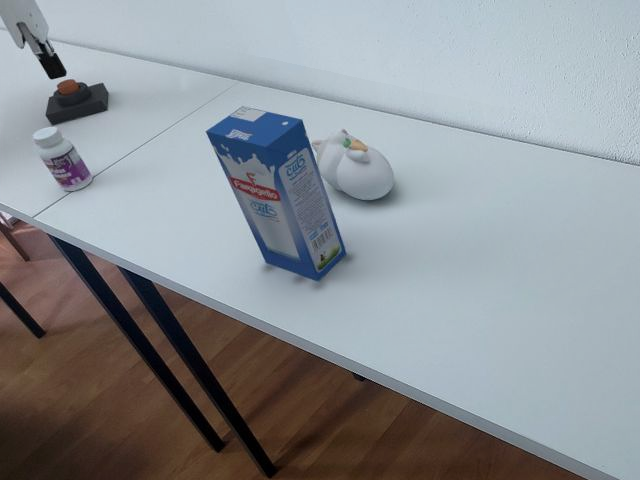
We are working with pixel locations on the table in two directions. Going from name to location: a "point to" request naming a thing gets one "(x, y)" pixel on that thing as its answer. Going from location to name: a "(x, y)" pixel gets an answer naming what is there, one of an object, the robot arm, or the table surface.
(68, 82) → the lid button
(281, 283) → the table surface
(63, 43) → the table surface
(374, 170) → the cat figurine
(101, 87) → the black button base
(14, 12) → the robot arm
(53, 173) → the pill bottle
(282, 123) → the milk carton
